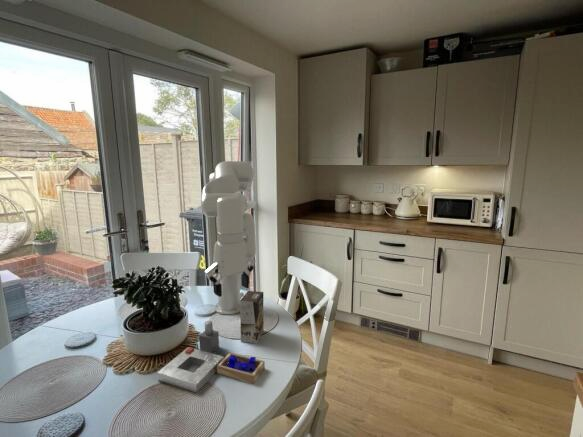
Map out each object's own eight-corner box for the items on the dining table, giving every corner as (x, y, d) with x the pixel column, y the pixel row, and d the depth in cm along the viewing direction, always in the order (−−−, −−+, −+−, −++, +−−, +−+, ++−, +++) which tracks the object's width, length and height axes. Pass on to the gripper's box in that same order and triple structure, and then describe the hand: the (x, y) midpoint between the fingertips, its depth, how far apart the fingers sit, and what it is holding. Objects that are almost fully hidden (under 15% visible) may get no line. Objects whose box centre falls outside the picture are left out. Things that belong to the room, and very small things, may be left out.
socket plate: (188, 353, 109) (188, 345, 108) (223, 363, 104) (223, 354, 103) (157, 379, 96) (157, 370, 95) (196, 392, 91) (196, 382, 91)
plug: (208, 344, 115) (206, 318, 113) (218, 346, 113) (218, 320, 111) (200, 351, 110) (198, 324, 109) (211, 354, 109) (210, 327, 107)
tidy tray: (230, 359, 106) (230, 352, 106) (264, 368, 102) (264, 361, 101) (217, 373, 99) (216, 365, 99) (253, 383, 95) (253, 376, 94)
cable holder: (228, 373, 100) (227, 362, 99) (231, 366, 103) (231, 355, 102) (253, 375, 99) (253, 364, 98) (255, 368, 102) (255, 357, 101)
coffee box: (257, 343, 115) (256, 302, 112) (240, 341, 116) (239, 300, 113) (264, 330, 124) (264, 291, 121) (248, 328, 125) (247, 290, 122)
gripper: (247, 231, 105) (248, 280, 108) (198, 239, 93) (200, 294, 96) (261, 235, 99) (261, 287, 102) (210, 245, 88) (212, 303, 91)
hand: (232, 291), depth 99 cm, fingers open, 9 cm apart
